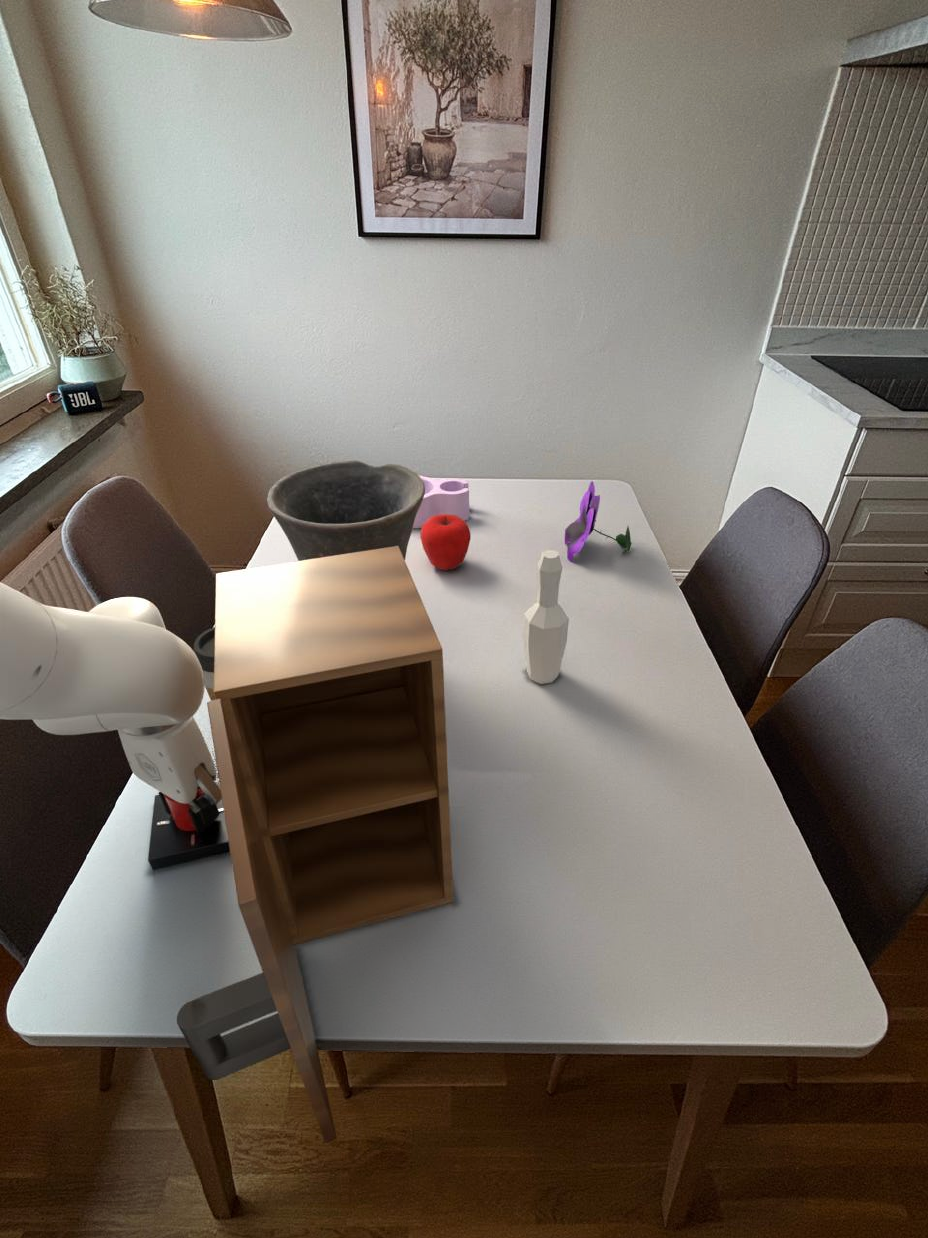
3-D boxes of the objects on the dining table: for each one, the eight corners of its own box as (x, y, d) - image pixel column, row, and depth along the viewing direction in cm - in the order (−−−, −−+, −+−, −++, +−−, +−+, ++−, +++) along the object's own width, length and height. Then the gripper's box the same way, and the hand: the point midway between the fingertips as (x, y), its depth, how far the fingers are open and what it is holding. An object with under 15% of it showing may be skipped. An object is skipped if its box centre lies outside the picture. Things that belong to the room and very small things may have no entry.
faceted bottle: (514, 670, 109) (518, 551, 96) (545, 656, 112) (554, 538, 99) (539, 692, 105) (546, 570, 92) (570, 677, 108) (582, 557, 95)
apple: (412, 564, 137) (409, 515, 130) (449, 548, 142) (448, 500, 135) (443, 584, 131) (441, 533, 124) (480, 566, 135) (480, 517, 129)
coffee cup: (203, 733, 99) (176, 652, 90) (236, 697, 105) (214, 617, 96) (253, 746, 96) (230, 664, 88) (283, 708, 103) (265, 628, 94)
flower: (606, 555, 148) (553, 529, 145) (648, 500, 140) (592, 471, 137) (616, 592, 136) (558, 564, 133) (662, 534, 128) (601, 503, 125)
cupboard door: (247, 1181, 56) (110, 950, 35) (222, 978, 70) (113, 726, 49) (336, 1138, 58) (256, 899, 38) (295, 950, 72) (220, 698, 51)
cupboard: (453, 901, 76) (442, 648, 56) (290, 946, 73) (213, 692, 52) (417, 782, 91) (398, 545, 70) (280, 814, 87) (215, 573, 66)
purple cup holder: (468, 501, 160) (467, 474, 155) (469, 526, 149) (469, 498, 145) (382, 504, 159) (380, 476, 155) (378, 529, 149) (375, 500, 145)
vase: (272, 665, 111) (233, 496, 94) (362, 604, 125) (343, 447, 108) (372, 719, 101) (349, 540, 83) (458, 645, 115) (454, 479, 97)
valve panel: (240, 850, 82) (236, 838, 81) (152, 870, 80) (147, 859, 79) (238, 788, 90) (235, 777, 89) (159, 805, 88) (154, 794, 87)
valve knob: (213, 799, 86) (202, 767, 83) (211, 827, 83) (200, 795, 79) (177, 806, 85) (164, 774, 82) (173, 834, 82) (160, 803, 79)
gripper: (72, 698, 74) (123, 808, 85) (176, 757, 67) (217, 868, 78) (131, 661, 80) (172, 768, 90) (233, 712, 72) (265, 822, 83)
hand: (193, 814), depth 84 cm, fingers closed on valve knob, 4 cm apart
